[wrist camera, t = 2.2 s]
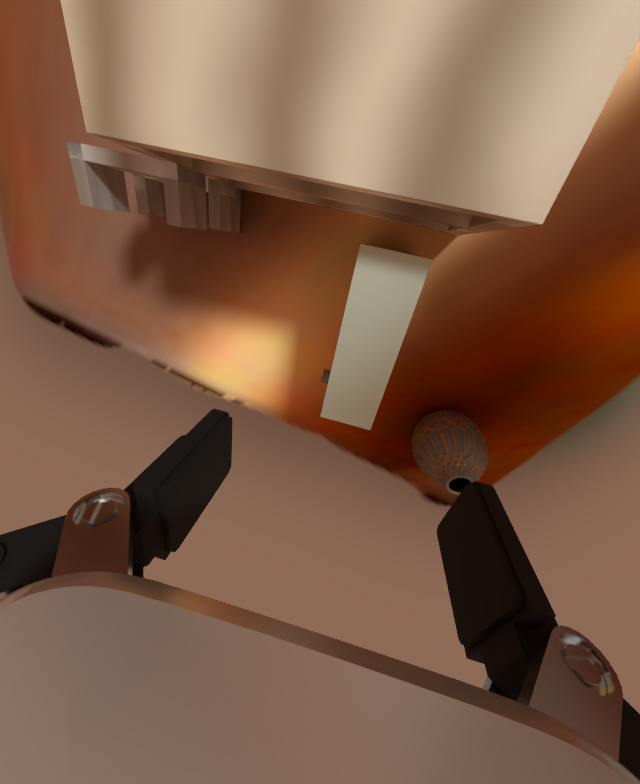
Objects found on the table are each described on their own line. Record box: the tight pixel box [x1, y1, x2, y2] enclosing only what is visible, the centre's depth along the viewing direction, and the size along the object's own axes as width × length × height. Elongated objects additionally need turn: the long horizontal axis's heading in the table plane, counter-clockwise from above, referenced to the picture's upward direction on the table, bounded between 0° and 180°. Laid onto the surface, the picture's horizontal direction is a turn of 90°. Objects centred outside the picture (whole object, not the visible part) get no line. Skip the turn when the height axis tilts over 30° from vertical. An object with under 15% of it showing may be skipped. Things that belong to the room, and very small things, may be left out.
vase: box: [412, 410, 488, 495], centre depth 27 cm, size 7×7×9 cm
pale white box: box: [320, 244, 432, 430], centre depth 22 cm, size 5×12×10 cm, turn 169°
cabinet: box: [61, 0, 640, 235], centre depth 16 cm, size 26×11×13 cm, turn 79°
